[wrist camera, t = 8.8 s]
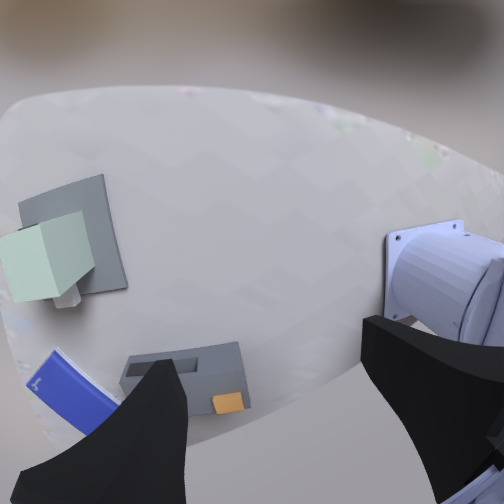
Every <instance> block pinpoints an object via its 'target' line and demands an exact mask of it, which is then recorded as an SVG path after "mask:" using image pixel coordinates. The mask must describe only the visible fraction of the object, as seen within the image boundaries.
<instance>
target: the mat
mask: <svg viewBox="0 0 504 504" xmlns="http://www.w3.org/2000/svg"><path fill="white" fill-rule="evenodd" d="M18 205H19V211H20V216H21V221H22V226H23V228H24V227H27V226H30V225H33V224H36V223H41V222H45V221H48V220H51V219H54V218H58V217H61V216H65V215H68V214H72V213H75V212H79V211H82V213H83V218H84V222H85V227H86V231H87V236H88V240H89V244H90V248H91V252H92V256H93V260H94V263H95V267H93V268H92V269H91V270H90V271H89V272H87V273H86V274H85V275H84V276H83V277H81V278H80V279H79V280H78V281H77V282H76V285H77V288H78V291H79V294H80V295H83V294H89V293H95V292H101V291H108V290H114V289H120V288H126V287H127V286H128V283H127V279H126V276H125V272H124V268H123V265H122V261H121V257H120V253H119V249H118V245H117V241H116V237H115V233H114V228H113V224H112V219H111V214H110V209H109V204H108V199H107V193H106V188H105V182H104V176H103V174H100V175H97V176H93V177H90V178H87V179H84V180H80V181H77V182H74V183H71V184H68V185H65V186H62V187H59V188H56V189H54V190H51V191H48V192H45V193H42V194H40V195H37V196H35V197H32V198H29V199H27V200H24V201H22V202H19V203H18ZM51 299H53V298H46V299H44V300H51Z"/></svg>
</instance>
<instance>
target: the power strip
mask: <svg viewBox="0 0 504 504" xmlns="http://www.w3.org/2000/svg"><path fill="white" fill-rule="evenodd" d="M164 359H172V360H173V363H174V365H175V368H176V371H177V373H178V376H179V379H180V381H181V384H182V386H183V389H184V391H185V394H186V396H187V403H188V416H196V415H205V414H214V413H217V414H223V413H230V412H236V411H242V410H244V409H247V408H251V403H250V398H249V392H248V387H247V381H246V376H245V372H244V367H243V363H242V358H241V354H240V349H239V344H238V342H233V343H227V344H221V345H215V346H209V347H202V348H195V349H188V350H181V351H173V352H165V353H156V354H147V355H137V356H129V359H128V361H127V364H126V366H125V369H124V371H123V374H122V377H121V379H120V382H119V384H120V386H121V388H122V390H123V391H124V393H125V395H126V397H127V396H128V395H129V394H130V393H131V392H132V390H133V389H134V388H135V387H136V385H137V384H138V383H139V382H140V380H141V379H142V378H143V377H144V375H145V374H146V373H147V371H148V370H149V369H150V368H151V366H152V365H153V364H154V363H155V361H156V360H164Z"/></svg>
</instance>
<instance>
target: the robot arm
mask: <svg viewBox="0 0 504 504" xmlns="http://www.w3.org/2000/svg"><path fill="white" fill-rule="evenodd" d="M453 225H454V226H453ZM397 235H398V239H397V240H396V236H397ZM394 315H395V316H394ZM411 315H413V316H414V317H415V318H417V319H418V320H419V321H420V322H422V323H423V324H424V325H426V326H427V327H428V328H429V329H431V330H432V331H433V332H435V333H436V334H437V335H438V336H435V335H432V334H429V333H426V332H423V331H420V330H417V329H415V328H412V327H409V326H407V325H404V324H401V323H399V322H396V321H397V320H400V319H402V318H405V317H408V316H411ZM393 316H394V317H393ZM361 362H362V364H363V366H364V368H365V370H366V372H367V374H368V375H369V377H370V379H371V380H372V382H373V383H374V385H375V386H376V387H377V388H378V390H379V391H380V393H381V394H382V395H383V397H384V398H385V399H386V401H387V402H388V403H389V405H390V406H391V407H392V409H393V410H394V411H395V413H396V414H397V415H398V417H399V418H400V420H401V421H402V423H403V425H404V426H405V428H406V430H407V432H408V434H409V436H410V437H411V439H412V441H413V443H414V445H415V447H416V449H417V451H418V454H419V456H420V458H421V460H422V463H423V465H424V467H425V470H426V472H427V475H428V478H429V480H430V483H431V486H432V489H433V493H434V496H435V500H436V503H437V504H504V244H502V243H499V242H496V241H494V240H491V239H488V238H485V237H482V236H478V235H475V234H472V233H469V232H466V231H464V222H463V221H462V220H460V219H458V220H452V221H447V222H442V223H437V224H432V225H426V226H421V227H416V228H410V229H405V230H400V231H395V232H390V233H389V234H388V235H387V237H386V289H385V309H384V317H382V316H379V315H374V316H371V317H368V318H364V319H363V328H362V346H361ZM187 430H188V403H187V396H186V394H185V391H184V389H183V386H182V384H181V381H180V379H179V376H178V373H177V371H176V368H175V365H174V363H173V360H172V359H164V360H156V361H155V363H154V364H153V365H152V366H151V368H150V369H149V370H148V371H147V373H146V374H145V375H144V377H143V378H142V379H141V380H140V382H139V383H138V384H137V385H136V387H135V388H134V389H133V390H132V392H131V393H130V394H129V395H128V396H127V398H126V399H125V400H124V401H123V402H122V403H121V404H120V405H119V406H118V408H117V409H116V410H115V411H114V412H113V413H112V414H111V415H110V416H109V417H108V418H107V419H106V420H105V421H104V422H103V423H102V424H101V425H99V426H98V427H97V428H96V429H95V430H94V431H93V432H91V433H90V434H89V435H87V436H86V437H85V438H83V439H82V440H81V441H79V442H78V443H76V444H75V445H74V446H72V447H71V448H69V449H67V450H66V451H64V452H63V453H61V454H59V455H57V456H56V457H54V458H52V459H50V460H48V461H46V462H44V463H41V464H39V465H36V466H34V467H31V468H29V469H27V470H24V471H21V472H20V475H19V477H18V480H17V482H16V485H15V488H14V490H13V493H12V496H11V498H10V501H11V503H12V504H186V496H185V484H184V483H185V482H184V466H185V453H186V441H187Z"/></svg>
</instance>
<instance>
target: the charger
mask: <svg viewBox="0 0 504 504" xmlns="http://www.w3.org/2000/svg"><path fill="white" fill-rule="evenodd" d="M0 259H1V262H2V266H3V269H4V273H5V276H6V279H7V282H8V285H9V288H10V291H11V294H12V297H13V300H14V303H19V302H26V301H33V300H40V299H46V298H53V301H54V304H55V307H56V309H58V308H66V307H74V306H77V304H78V303H79V302H80V301H81V297H80V294H79V291H78V288H77V285H76V282H77V281H78V280H79V279H80V278H81V277H83V276H84V275H85V274H86V273H87V272H89V271H90V270H91V269H92V268H93V267H95V263H94V260H93V256H92V252H91V248H90V244H89V240H88V236H87V231H86V227H85V222H84V218H83V213H82V211H79V212H75V213H72V214H68V215H65V216H61V217H58V218H54V219H51V220H48V221H45V222H41V223H36V224H33V225H30V226H27V227H24V228H21V229H19V230H18V231H16V232H13V233H11V234H8V235H5V236H3V237H0Z"/></svg>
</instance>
